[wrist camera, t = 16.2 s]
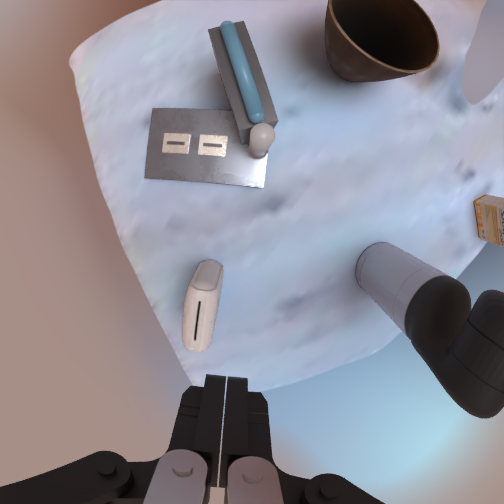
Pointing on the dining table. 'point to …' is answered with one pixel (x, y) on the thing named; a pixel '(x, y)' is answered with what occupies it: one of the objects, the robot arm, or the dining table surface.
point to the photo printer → (202, 306)
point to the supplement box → (490, 218)
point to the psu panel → (200, 148)
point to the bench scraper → (244, 86)
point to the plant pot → (379, 39)
